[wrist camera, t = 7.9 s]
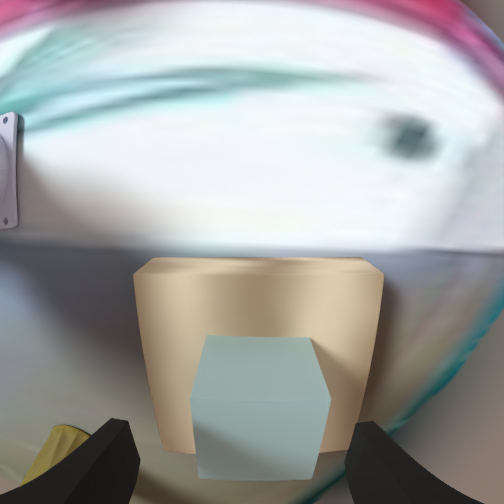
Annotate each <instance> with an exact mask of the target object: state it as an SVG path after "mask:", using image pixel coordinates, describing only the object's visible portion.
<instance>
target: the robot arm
mask: <svg viewBox="0 0 504 504" xmlns="http://www.w3.org/2000/svg"><path fill="white" fill-rule="evenodd" d="M7 119H8V121H7ZM6 121H7V122H6ZM17 123H18V115H17V113H16V112H9V113H6V114H3V115H0V229H5V228H13V227H16V226H17V223H18V215H17V198H16V140H17ZM7 219H8V223H7ZM344 463H345V468H346V474H347V479H348V484H349V489H350V492H351V495H352V498H353V501H354V504H484V503H481V502H479V501H477V500H474V499H472V498H470V497H468V496H466V495H464V494H462V493H461V492H459V491H457V490H455V489H454V488H452V487H450V486H449V485H447V484H445V483H444V482H443V481H441V480H440V479H438V478H437V477H435V476H434V475H433V474H431V473H430V472H429V471H427V470H426V469H425V468H424V467H422V466H421V465H420V464H419V463H418V462H416V461H415V460H414V459H413V458H411V456H410V455H408V454H407V453H406V452H405V451H404V450H403V449H402V448H401V447H400V446H398V444H397V443H395V442H394V441H393V440H392V439H391V438H390V437H389V436H388V435H387V434H386V433H385V432H384V431H383V430H382V429H381V428H380V427H379V426H378V425H377V424H376V423H375V422H374V421H370V422H363V423H356V424H355V428H354V432H353V435H352V439H351V442H350V446H349V449H348V453H347V456H346V459H345V462H344ZM139 465H140V457H139V454H138V451H137V448H136V445H135V442H134V439H133V436H132V432H131V429H130V426H129V422H128V421H126V420H120V419H114V418H111V419H110V420H108V421H107V422H106V423H105V424H104V425H103V426H102V427H100V428H99V429H98V430H97V431H96V432H95V433H94V434H93V435H91V436H90V437H89V438H88V439H87V440H86V441H85V442H83V443H82V444H81V445H80V446H79V447H77V448H76V449H75V450H74V451H73V452H71V453H70V454H69V455H68V456H67V457H65V458H64V459H63V460H61V461H60V462H59V463H57V464H56V465H54V466H53V467H52V468H50V469H49V470H47V471H46V472H44V473H43V474H41V475H40V476H38V477H37V478H35V479H33V480H31V481H29V482H28V483H26V484H24V485H22V486H20V487H18V488H16V489H13V490H11V491H9V492H6V493H4V494H1V495H0V504H129V501H130V499H131V496H132V493H133V490H134V487H135V484H136V480H137V475H138V470H139Z"/></svg>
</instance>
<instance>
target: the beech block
mask: <svg viewBox="0 0 504 504" xmlns="http://www.w3.org/2000/svg"><path fill="white" fill-rule="evenodd" d="M133 279H134V289H135V298H136V306H137V314H138V321H139V329H140V335H141V342H142V348H143V354H144V360H145V366H146V372H147V377H148V382H149V387H150V392H151V397H152V402H153V407H154V411H155V416H156V420H157V424H158V428H159V433H160V437H161V441H162V445H163V448H164V451H171V452H180V453H191V454H196V450H195V442H194V433H193V424H192V415H191V405H190V395H191V391H192V387H193V384H194V380H195V376H196V373H197V369H198V365H199V361H200V358H201V354H202V350H203V347H204V343H205V339H206V336H207V335H218V336H245V337H309V338H310V340H311V343H312V346H313V349H314V351H315V354H316V357H317V360H318V363H319V366H320V368H321V371H322V374H323V377H324V380H325V383H326V385H327V388H328V391H329V394H330V397H331V403H330V408H329V412H328V417H327V421H326V426H325V430H324V434H323V438H322V442H321V446H320V450H319V453H322V452H332V451H340V450H348V449H349V446H350V442H351V439H352V435H353V432H354V428H355V424H356V423H357V422H358V418H359V414H360V410H361V406H362V402H363V398H364V393H365V389H366V384H367V380H368V375H369V370H370V365H371V360H372V355H373V349H374V344H375V338H376V332H377V326H378V319H379V313H380V306H381V298H382V290H383V282H384V274H383V273H382V272H381V271H379V270H378V269H377V268H375V267H374V266H373V265H371V264H370V263H369V262H367V261H366V260H364V259H363V258H362V257H153V258H152V259H151V260H150V261H149V262H147V263H146V264H145V265H144V266H142V267H141V268H140V269H139V270H138V271H136V272H135V273H134V274H133Z"/></svg>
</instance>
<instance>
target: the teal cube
mask: <svg viewBox="0 0 504 504" xmlns="http://www.w3.org/2000/svg"><path fill="white" fill-rule="evenodd" d="M330 403H331V397H330V394H329V391H328V388H327V385H326V383H325V380H324V377H323V374H322V371H321V368H320V366H319V363H318V360H317V357H316V354H315V351H314V349H313V346H312V343H311V340H310V338H309V337H245V336H218V335H207V336H206V339H205V343H204V347H203V350H202V354H201V358H200V361H199V365H198V369H197V373H196V376H195V380H194V384H193V387H192V391H191V395H190V405H191V415H192V424H193V433H194V442H195V450H196V458H197V466H198V473H199V478H205V479H218V480H238V481H284V480H304V479H312V476H313V473H314V469H315V466H316V462H317V458H318V454H319V450H320V446H321V442H322V438H323V434H324V430H325V426H326V421H327V417H328V412H329V408H330Z"/></svg>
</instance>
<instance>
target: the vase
mask: <svg viewBox="0 0 504 504" xmlns="http://www.w3.org/2000/svg"><path fill="white" fill-rule="evenodd" d="M89 437H90V435H88V434H86V433H85V432H83V431H81V430H79V429H77V428H74V427H71V426H67V425H58V426H55V427H54V428H53V429H52V431H51V434H50V436H49V438H48V439H47V441H46V442H45V444H44V446H43V447H42V449H41V450H40V452H39V454H38V456H37V457H36V459H35V461H34V463H33V464H32V466H31V468H30V469H29V471H28V472H27V474H26V476H25V478H24V479H23V481H22V483H21V485H20V486H22V485H24V484H26V483H28V482H29V481H31V480H33V479H35V478H37V477H38V476H40V475H41V474H43V473H44V472H46V471H47V470H49V469H50V468H52V467H53V466H54V465H56V464H57V463H59V462H60V461H61V460H63V459H64V458H65V457H67V456H68V455H69V454H70V453H71V452H73V451H74V450H75V449H76V448H77V447H79V446H80V445H81V444H82V443H83V442H85V441H86V440H87V439H88V438H89ZM20 486H19V487H20Z"/></svg>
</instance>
